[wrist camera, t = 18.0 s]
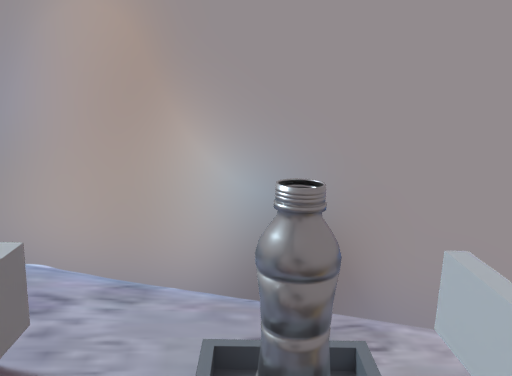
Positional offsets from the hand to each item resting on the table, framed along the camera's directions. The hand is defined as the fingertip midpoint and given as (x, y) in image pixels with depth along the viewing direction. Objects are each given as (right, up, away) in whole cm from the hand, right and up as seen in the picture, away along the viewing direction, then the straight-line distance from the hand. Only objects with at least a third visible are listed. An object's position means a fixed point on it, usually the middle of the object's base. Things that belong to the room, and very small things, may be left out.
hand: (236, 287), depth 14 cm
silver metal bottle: (+3, -16, +22) cm, 28 cm away
